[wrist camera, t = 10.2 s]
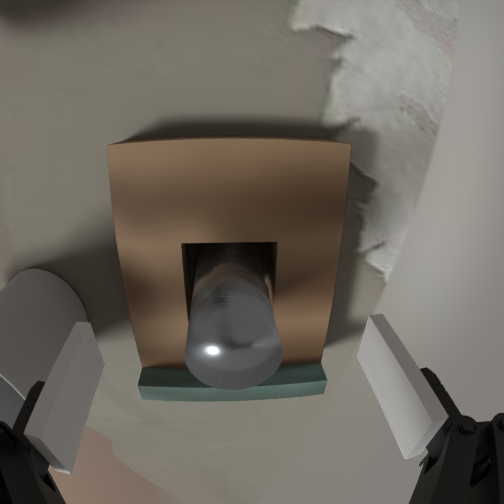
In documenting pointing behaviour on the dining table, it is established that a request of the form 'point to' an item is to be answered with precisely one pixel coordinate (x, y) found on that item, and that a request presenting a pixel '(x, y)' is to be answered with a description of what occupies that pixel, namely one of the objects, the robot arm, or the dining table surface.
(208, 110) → the dining table surface
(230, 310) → the grey metal cylinder
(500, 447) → the robot arm
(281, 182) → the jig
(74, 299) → the mug
